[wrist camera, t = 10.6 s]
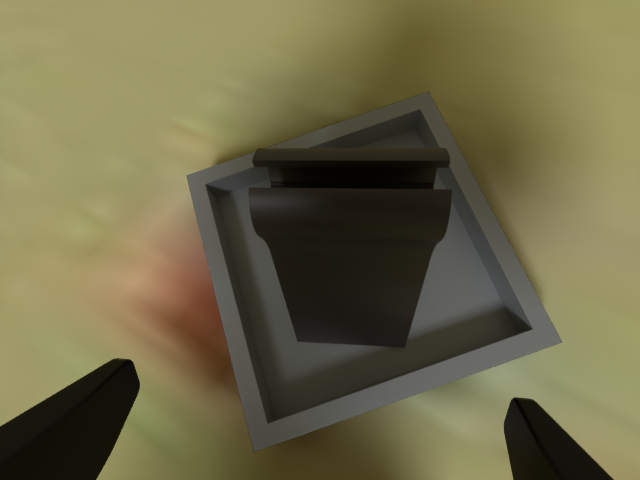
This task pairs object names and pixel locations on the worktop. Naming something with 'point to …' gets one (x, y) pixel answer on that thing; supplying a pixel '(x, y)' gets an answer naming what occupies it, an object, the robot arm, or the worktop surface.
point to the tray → (359, 360)
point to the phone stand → (351, 237)
